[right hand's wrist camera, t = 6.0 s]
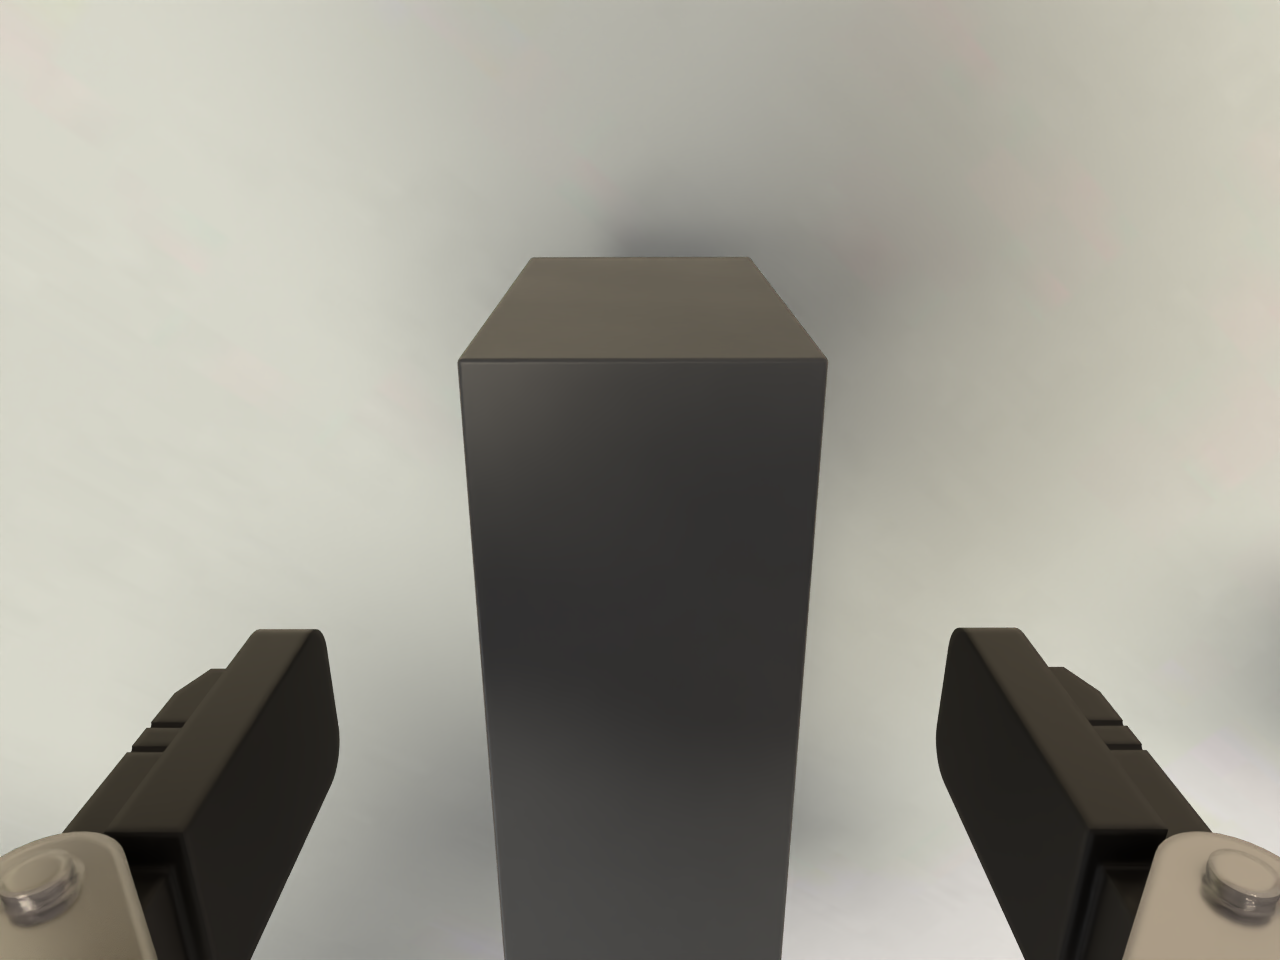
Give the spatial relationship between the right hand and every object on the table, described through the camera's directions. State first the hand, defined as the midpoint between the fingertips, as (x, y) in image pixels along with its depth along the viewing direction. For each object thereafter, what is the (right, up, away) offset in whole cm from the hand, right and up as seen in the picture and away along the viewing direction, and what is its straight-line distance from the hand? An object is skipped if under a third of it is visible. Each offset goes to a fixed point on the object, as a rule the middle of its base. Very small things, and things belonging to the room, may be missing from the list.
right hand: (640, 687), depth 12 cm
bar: (0, -4, +12) cm, 13 cm away
